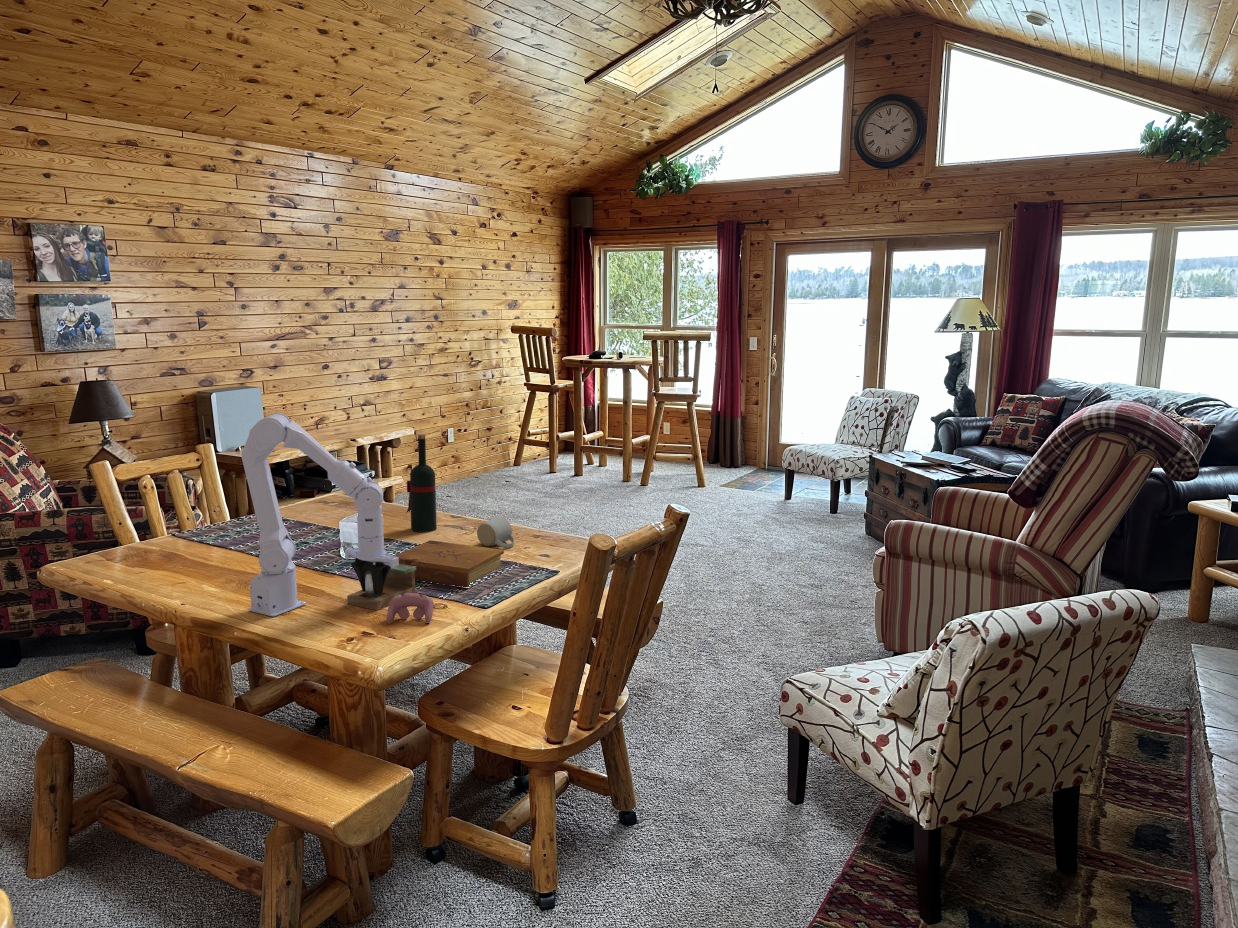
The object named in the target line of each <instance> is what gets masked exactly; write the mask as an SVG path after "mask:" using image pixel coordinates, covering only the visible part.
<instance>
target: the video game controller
mask: <svg viewBox="0 0 1238 928" xmlns="http://www.w3.org/2000/svg"><path fill="white" fill-rule="evenodd" d="M434 606H435V605H434V601H433V599H432V598H431V597H429V596H427V595H426V594H422V593H418V592H417V593H416V592H415V593H405V594H402V595H397V596H395V597H394V598H393V599H392V600H391V602H390V604H389V606H388V608H387V614H386V623H387V625H390V624H392V623H393V622H394V619H395V618H396V615H398V617H399V618H400V619H402V620H407V619H408V618H409V617H410V615H411V613H410V610H409V609H408V608H409V607H411V608H412V607H415V609H414V610H413V612H412V617H413V619H415V620H421V619H420V618H422V617H423V618H424V621H425V623H429V622H430V621H431V622H432V619H433V612H434ZM423 618H422V619H423ZM431 622H430V623H431ZM430 623H429V624H430Z"/></svg>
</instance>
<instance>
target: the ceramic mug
mask: <svg viewBox="0 0 1238 928" xmlns="http://www.w3.org/2000/svg"><path fill="white" fill-rule="evenodd" d="M512 534H513V528H512V525H511V522H510V521H509V520H508V519H507V518H506V517H504V516H500V515H499V516H496V517H493V518H491V519H488V520H485V522H483V523H481V524H480V525H479V526H478V527H477V531H476V535H477V536H476V537H477V539H478V541H479V543H481V544H482V545H483V546H485V547H492V546H496V545H497V546H498V547H500V548H503V549H509V548H508V547H511V548H513V546H515V545H514V544H515V538H514V536H513V535H512ZM507 541H510V542H511V543H505V542H507Z"/></svg>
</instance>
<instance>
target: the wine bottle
mask: <svg viewBox="0 0 1238 928" xmlns="http://www.w3.org/2000/svg"><path fill="white" fill-rule="evenodd" d="M417 438H418V439H417V443H418V444H417V449H418V464H417V465H415V466H414V467H413V468H412V469H411V471H410V473H409V480H407V481H406V492H407V493H408V494H409V495H408V507H407V510H406V513H405V514H407V513H410V530H411V531H412V532H414V533H430V532H435V531H436V530H437V529H438V527H437V493H436V472H435V470H434V469H433V468H432V467H431V466H430V465H429V464H427V450H426V445H427V443H426V434H422V433H421V434H417Z"/></svg>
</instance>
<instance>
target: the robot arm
mask: <svg viewBox="0 0 1238 928" xmlns="http://www.w3.org/2000/svg"><path fill="white" fill-rule="evenodd" d="M282 442H283V444H282V448H286V449H287V448H288V449H297V450H299V451H300V452H302V453H303V454H304V455H306V456H307V457H308V458H309V459H311V460H312V461H313V462H314V463H316V464H318V465H319V466H320V467H321V468H323V469H324V470H325V471H326V472H327V478H328V479H327V480H328V481H330V482H331V483H332V484H333V485H335V486H336V487H337V488H338V489H340V490H341V491H342V492H343V493H344V494H346V495H347V496H348V497H349V498H351V499H354V505H355V506H356V508H357V516H356V521H357V548H352V547H350V548H348V549H345V550H344V558H345V559H355V560H354V562H351V563H350V565H351V568H352V569H353V571H354V572H355V575H356V576H357V578H358V580H359V584H360V587H361V590H362V591H364V592H365V572H367V571H370V572H371V575H372V580H373V590H374V594H379V593H381V592H383V588H384V583H385V580H386V577H387V574H388V572H389V570H390V568H391V567H395V566H398V565H399V559H398V557H395V556H396V555H392V554H391V553H388V552H387V550H386V549H385V541H384V539H385V538H384V536H385V535H384V515H383V506H382V505H383V504H382V502H383V499H384V491H383V488H382V487H381V486H380V484H379V482H377V481H373V479H372V478H371V477H370V476H368V477H367V476H366V475H364V474H363V472H361V471H360V470H359V469H357V468H356V466H357V465H356V463H354V462H353V461H351V462H349V461H347V459H345V460H339V459H337V458H336V457H335V456H334V455H332V454H331V453H330V452H329V451H328V450H327V449H326V448H325V447H324V446H322V444H320V443H319V442H318V441H317V440H316V439H314V437H313V436H312V435H311V434H310V433H308V432H307V431H306V430H305V429H304V428H303V427H302V426H300V424H298V423H297V422H296V421H294V420H291V419H290V418H289V416H287V415H286V414H284V413H280V412H274V413H270V414H269V415H267V416H266V417H264V418H262V419H259V420H258V421H257V422H256V423H255V424H254V425H253V426H252V427H251V428H250V429H249V433H248V437H247V439H246V441H245V444H244V446H243V450H242V451H241V461H242V464H243V468H244V473H245V477H246V481H247V484H248V490H249V493H250V497H251V500H252V501H251V502H252V505H253V509H254V514H255V517H256V520H257V525H258V529H259V542H258V545H259V549H260V553H259V556H258V563H259V566H260V570H261V571H260V573H259V574H258V575H256V576H254V577H253V578H251V580H250V582H249V583H250V584H249V589H250V591H249V593H250V594H249V595H250V608H248V611H250V612H254V613H257V614H261V615H264V616H268V617H277V616H279V615H282V614H284V613H287V612H290V611H292V610H294V609H297V608H300V607H302V606H306V604H307V602H306V601H303V600H298V587H297V584H298V583H297V570H296V568H297V566H296V564H295V563H294V561H293V560H292V559H293V558H294V557H295V555H296V552H297V546H296V543H295V542H294V540H292V538H291V537H290V535H289V531H288V529H287V528H286V526H285V524H284V522H283V518H282V514H281V510H280V505H279V502H278V497H277V492H276V489H275V484H274V481H273V476H272V472H271V468H270V464H269V459H268V458H269V456H270V455H271V454H272V453H273V451H274V450H275V448H276V447H277V446H279V444H281V443H282ZM373 564H374V565H373Z"/></svg>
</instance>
